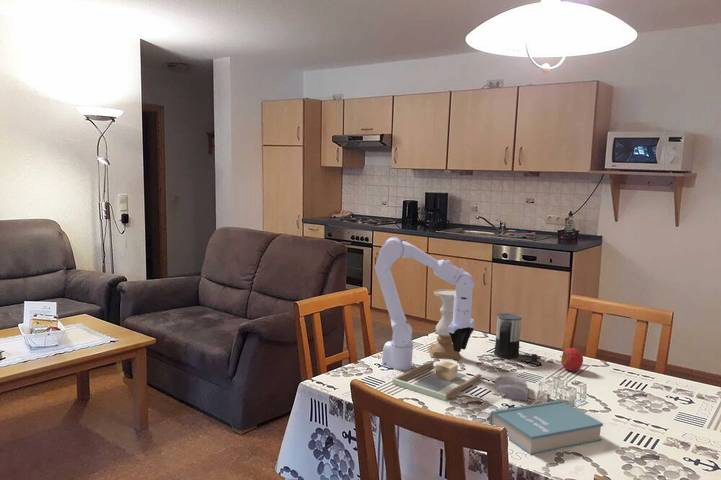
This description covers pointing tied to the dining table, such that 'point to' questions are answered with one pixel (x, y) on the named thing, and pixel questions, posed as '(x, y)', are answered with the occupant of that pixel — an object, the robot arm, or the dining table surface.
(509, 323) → the milk frother
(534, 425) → the book
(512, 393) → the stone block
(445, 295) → the candle holder
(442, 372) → the maple block
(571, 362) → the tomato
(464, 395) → the dining table surface
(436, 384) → the box
